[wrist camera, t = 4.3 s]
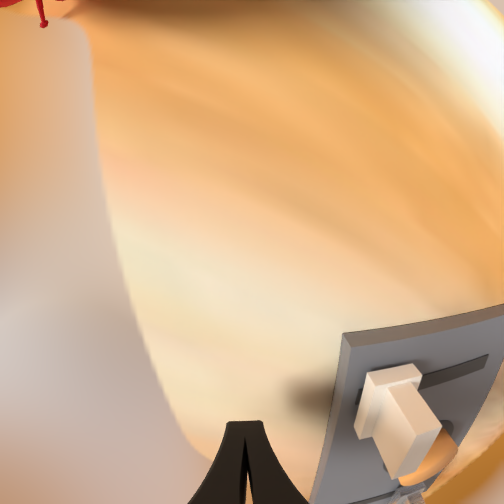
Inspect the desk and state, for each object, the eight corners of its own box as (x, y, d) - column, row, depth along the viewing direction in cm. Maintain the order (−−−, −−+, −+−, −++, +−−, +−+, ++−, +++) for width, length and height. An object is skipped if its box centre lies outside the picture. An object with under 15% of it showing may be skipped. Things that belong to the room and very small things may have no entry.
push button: (455, 420, 13) (467, 436, 12) (434, 457, 15) (442, 472, 13) (402, 439, 13) (413, 459, 12) (384, 474, 14) (392, 492, 13)
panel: (508, 302, 13) (520, 310, 12) (422, 482, 18) (426, 491, 17) (342, 333, 13) (351, 348, 11) (305, 513, 18) (306, 524, 16)
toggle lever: (412, 363, 11) (455, 417, 7) (394, 416, 12) (424, 469, 8) (367, 372, 11) (404, 436, 7) (353, 425, 12) (377, 485, 8)
